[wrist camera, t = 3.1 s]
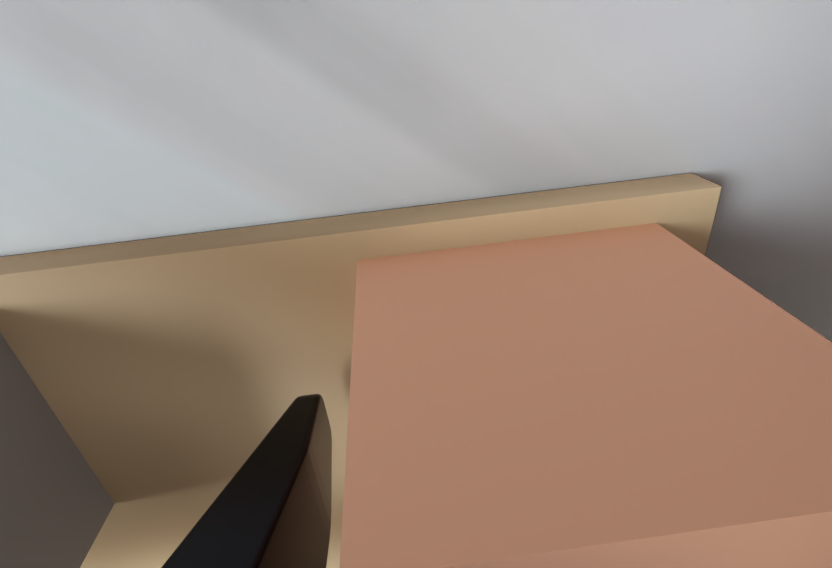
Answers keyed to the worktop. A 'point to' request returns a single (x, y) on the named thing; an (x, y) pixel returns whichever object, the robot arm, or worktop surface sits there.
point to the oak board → (248, 337)
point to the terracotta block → (582, 411)
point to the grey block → (42, 480)
